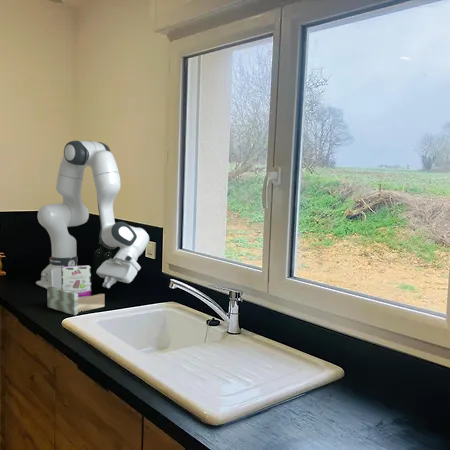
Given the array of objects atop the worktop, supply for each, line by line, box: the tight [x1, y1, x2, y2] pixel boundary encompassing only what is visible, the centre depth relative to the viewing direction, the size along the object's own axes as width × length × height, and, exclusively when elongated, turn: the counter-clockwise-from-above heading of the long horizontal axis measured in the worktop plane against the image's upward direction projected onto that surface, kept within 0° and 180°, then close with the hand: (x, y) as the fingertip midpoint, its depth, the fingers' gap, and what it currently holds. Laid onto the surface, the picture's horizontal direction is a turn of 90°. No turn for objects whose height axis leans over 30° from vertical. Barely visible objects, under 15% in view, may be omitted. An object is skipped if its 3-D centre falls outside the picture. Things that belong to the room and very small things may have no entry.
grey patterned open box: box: [46, 286, 106, 316], centre depth 202 cm, size 18×16×8 cm
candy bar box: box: [61, 264, 92, 298], centre depth 201 cm, size 11×5×16 cm, turn 111°
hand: (105, 286), depth 212 cm, fingers closed
